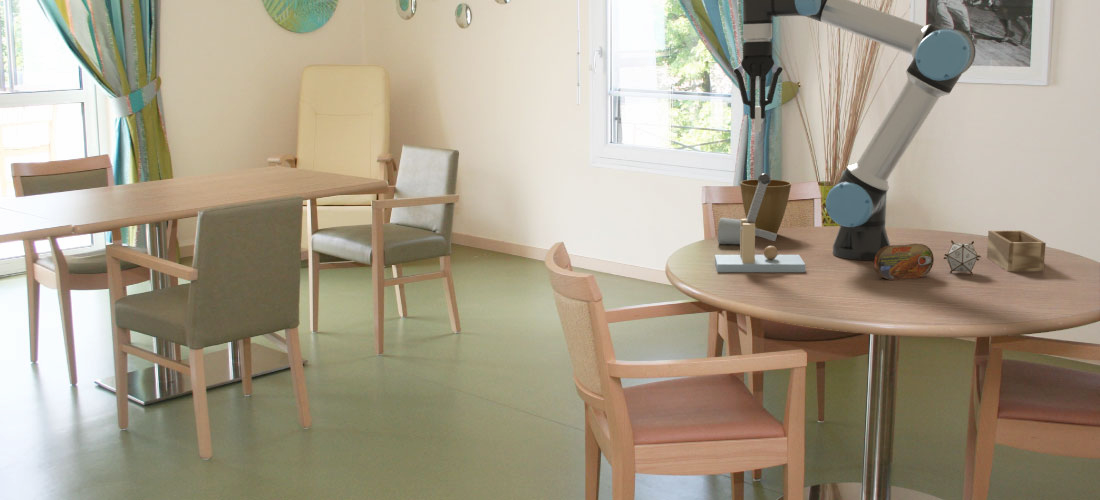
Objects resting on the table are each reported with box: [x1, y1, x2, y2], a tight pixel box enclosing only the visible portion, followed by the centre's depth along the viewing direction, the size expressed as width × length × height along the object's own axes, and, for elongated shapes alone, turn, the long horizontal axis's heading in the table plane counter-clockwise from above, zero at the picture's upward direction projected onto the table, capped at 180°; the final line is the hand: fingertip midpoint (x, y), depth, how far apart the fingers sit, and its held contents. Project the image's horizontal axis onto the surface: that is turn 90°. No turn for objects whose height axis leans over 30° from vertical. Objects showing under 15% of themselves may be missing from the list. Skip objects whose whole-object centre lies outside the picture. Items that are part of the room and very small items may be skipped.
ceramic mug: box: [717, 217, 741, 246], centre depth 299 cm, size 11×8×8 cm
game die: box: [943, 239, 982, 275], centre depth 256 cm, size 9×8×10 cm
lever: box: [741, 172, 778, 242], centre depth 264 cm, size 9×4×17 cm, turn 86°
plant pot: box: [739, 178, 792, 238], centre depth 309 cm, size 15×15×16 cm
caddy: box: [986, 230, 1047, 272], centre depth 264 cm, size 9×17×7 cm, turn 174°
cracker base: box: [714, 218, 806, 273], centre depth 267 cm, size 22×12×12 cm, turn 84°
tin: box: [873, 243, 935, 281], centre depth 252 cm, size 15×3×8 cm, turn 102°
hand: (757, 131), depth 273 cm, fingers closed
